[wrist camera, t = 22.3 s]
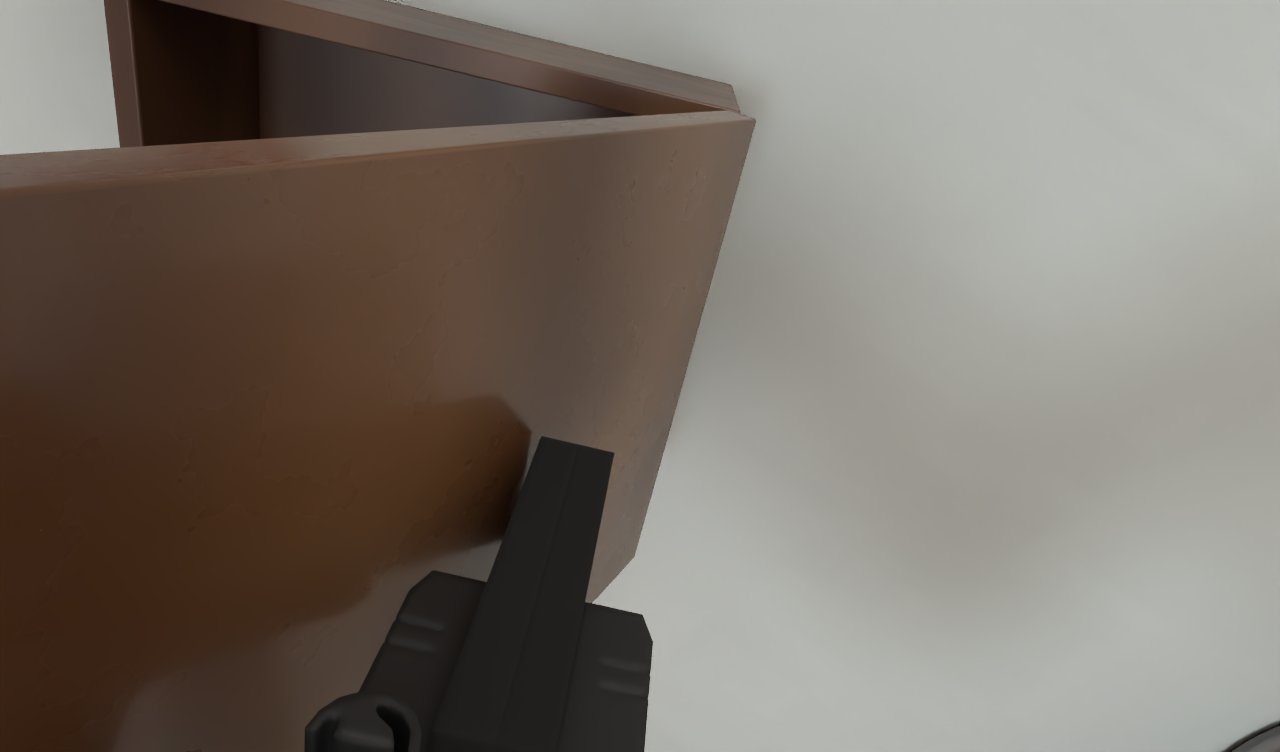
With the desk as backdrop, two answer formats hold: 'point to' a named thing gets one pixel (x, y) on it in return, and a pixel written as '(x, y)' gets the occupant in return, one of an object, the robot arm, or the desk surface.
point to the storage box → (359, 73)
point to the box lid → (316, 397)
